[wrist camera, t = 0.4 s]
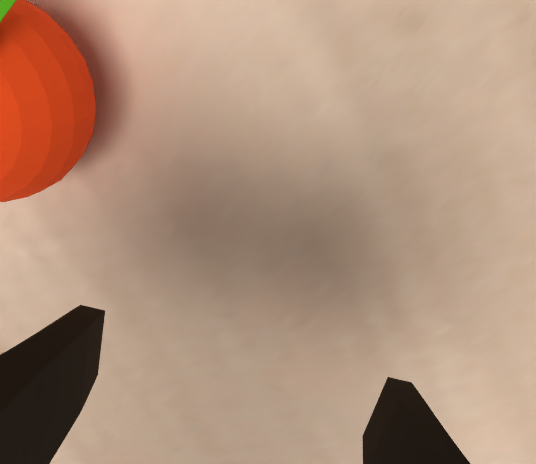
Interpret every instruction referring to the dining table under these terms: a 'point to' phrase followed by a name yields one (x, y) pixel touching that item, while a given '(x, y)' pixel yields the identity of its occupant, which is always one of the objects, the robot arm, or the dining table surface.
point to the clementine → (40, 101)
